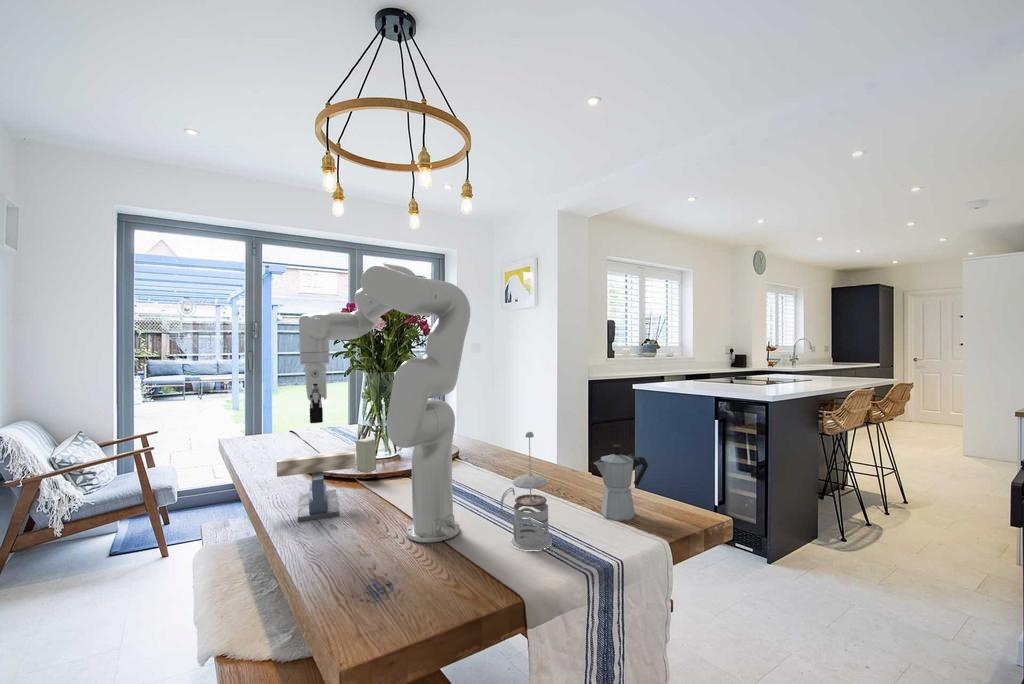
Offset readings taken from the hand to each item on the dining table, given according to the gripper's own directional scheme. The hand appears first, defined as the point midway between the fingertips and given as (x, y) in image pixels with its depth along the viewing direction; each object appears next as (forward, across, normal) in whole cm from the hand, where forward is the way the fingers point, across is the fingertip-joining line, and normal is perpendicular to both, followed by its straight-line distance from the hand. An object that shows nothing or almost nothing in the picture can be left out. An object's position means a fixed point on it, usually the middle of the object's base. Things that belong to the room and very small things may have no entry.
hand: (316, 420), depth 134 cm
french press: (+25, -46, -43) cm, 68 cm away
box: (+24, +23, -15) cm, 37 cm away
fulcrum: (+24, 0, 0) cm, 24 cm away
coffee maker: (+25, -41, -72) cm, 86 cm away
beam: (+14, 0, 0) cm, 14 cm away
